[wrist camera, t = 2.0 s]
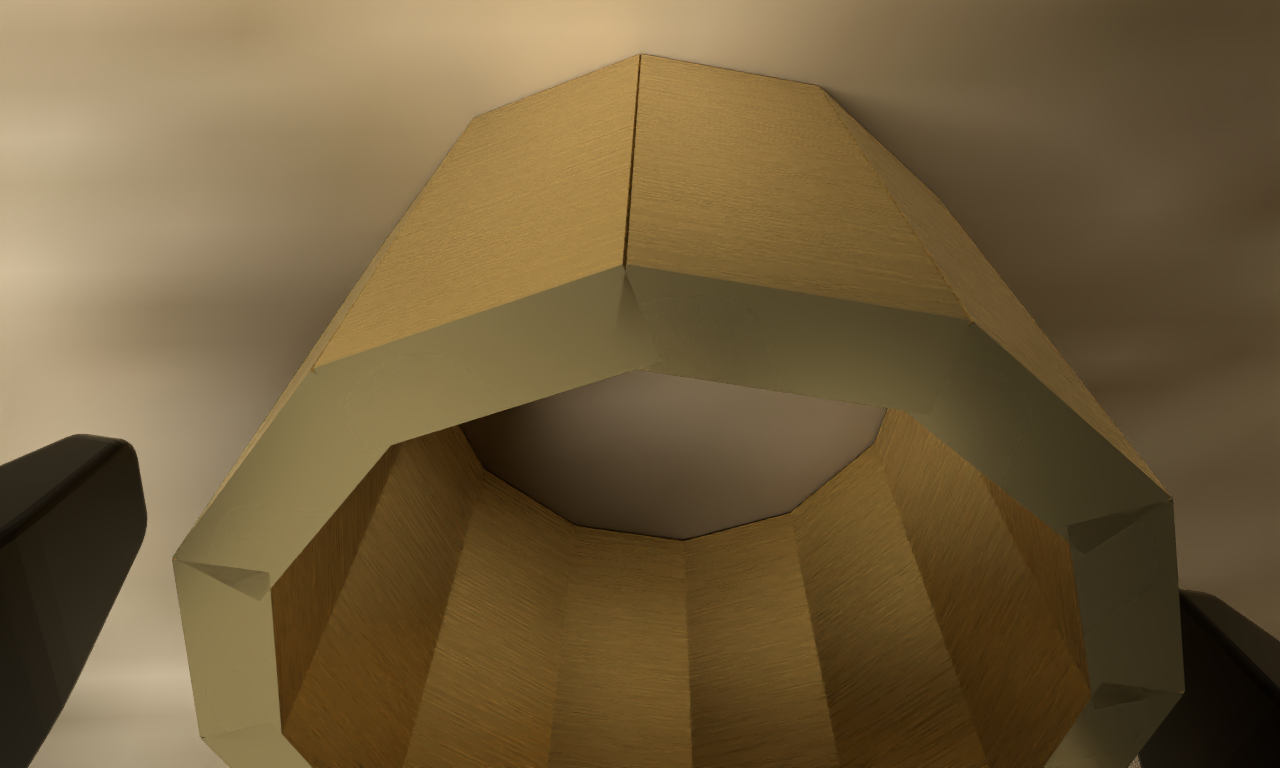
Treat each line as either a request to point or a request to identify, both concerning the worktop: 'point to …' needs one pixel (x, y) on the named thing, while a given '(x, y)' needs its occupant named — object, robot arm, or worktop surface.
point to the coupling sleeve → (708, 565)
